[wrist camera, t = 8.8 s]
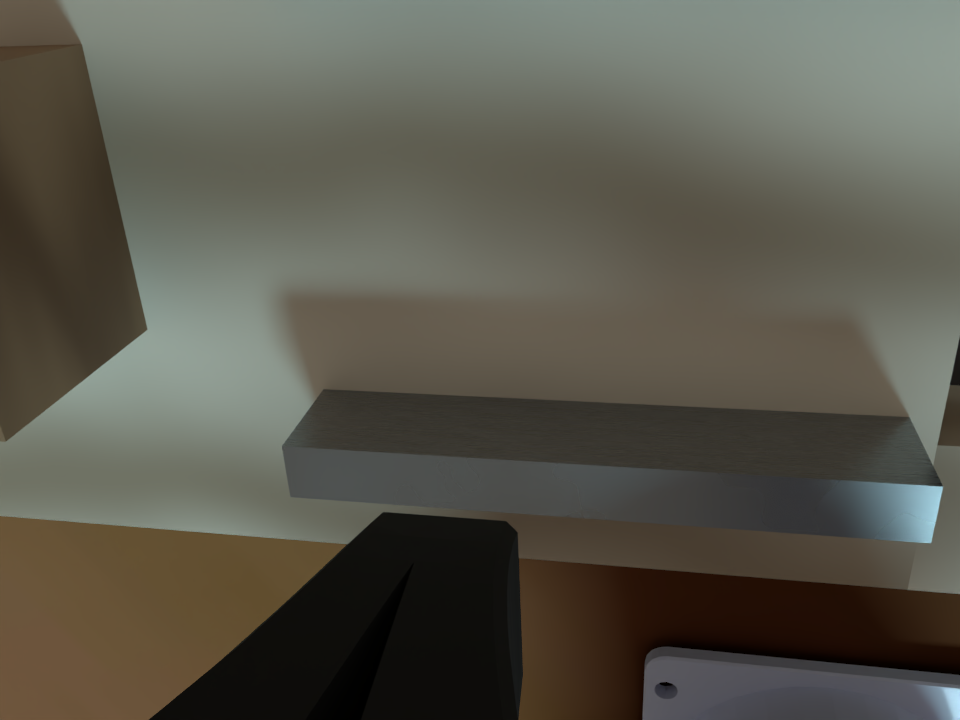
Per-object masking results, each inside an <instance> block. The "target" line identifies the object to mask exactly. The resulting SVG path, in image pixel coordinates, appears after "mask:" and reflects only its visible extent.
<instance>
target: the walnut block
mask: <svg viewBox="0 0 960 720" xmlns="http://www.w3.org/2000/svg"><path fill="white" fill-rule="evenodd" d="M146 330H148V329H147V325H146V320H145V316H144V312H143V307H142V303H141V299H140V294H139V290H138V286H137V281H136V277H135V273H134V268H133V264H132V260H131V255H130V251H129V247H128V242H127V238H126V234H125V229H124V225H123V221H122V216H121V212H120V208H119V203H118V199H117V195H116V190H115V186H114V181H113V177H112V173H111V168H110V164H109V160H108V155H107V151H106V147H105V142H104V138H103V134H102V129H101V125H100V121H99V116H98V112H97V108H96V103H95V99H94V95H93V90H92V86H91V82H90V77H89V73H88V69H87V64H86V60H85V55H84V51H83V47H82V44H70V45H38V46H5V47H0V441H1V442H6V441H7V440H9V439H10V438H11V437H12V436H14V435H15V434H16V433H18V432H19V431H20V430H21V429H23V428H24V427H25V426H26V425H28V424H29V423H30V422H31V421H33V420H34V419H35V418H36V417H38V416H39V415H40V414H42V413H43V412H44V411H45V410H47V409H48V408H49V407H50V406H52V405H53V404H54V403H55V402H57V401H58V400H59V399H60V398H62V397H63V396H64V395H66V394H67V393H68V392H69V391H71V390H72V389H73V388H74V387H76V386H77V385H78V384H79V383H81V382H82V381H83V380H85V379H86V378H87V377H88V376H90V375H91V374H92V373H93V372H95V371H96V370H97V369H98V368H100V367H101V366H102V365H103V364H105V363H106V362H107V361H109V360H110V359H111V358H112V357H114V356H115V355H116V354H117V353H119V352H120V351H121V350H122V349H124V348H125V347H126V346H127V345H129V344H130V343H131V342H133V341H134V340H135V339H136V338H138V337H139V336H140V335H141V334H143V333H144V332H145V331H146Z"/></svg>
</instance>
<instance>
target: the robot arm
mask: <svg viewBox="0 0 960 720" xmlns="http://www.w3.org/2000/svg"><path fill="white" fill-rule="evenodd" d="M522 677H523V665H522V637H521V609H520V581H519V552H518V532H517V531H516V530H515V529H514V528H513V527H512V526H511V525H510V524H509V523H508V522H507V521H500V520H486V519H472V518H459V517H445V516H432V515H418V514H405V513H391V512H383V513H381V514H380V515H379V516H378V517H377V518H376V519H375V520H374V521H372V522H371V523H370V524H369V525H368V526H367V527H366V528H365V529H364V530H362V531H361V532H360V533H359V534H358V535H357V536H356V537H355V538H354V539H353V540H352V541H351V542H349V543H348V544H347V545H346V546H345V547H344V548H343V549H342V550H341V551H340V552H339V553H338V554H337V555H336V556H335V557H334V558H333V559H331V560H330V561H329V562H328V563H327V564H326V565H325V566H324V567H323V568H322V569H321V570H320V571H319V572H318V573H317V574H316V575H315V576H313V577H312V578H311V579H310V580H309V581H308V582H307V583H306V584H305V585H304V586H303V587H302V588H301V589H300V590H298V591H297V592H296V593H295V594H294V595H293V596H292V597H291V598H290V599H289V600H288V601H287V602H286V603H285V604H283V605H282V606H281V607H280V608H279V609H278V610H277V611H276V612H274V613H273V614H272V615H271V616H270V617H269V618H268V619H267V620H266V621H264V622H263V623H262V624H261V625H260V626H259V627H258V628H257V629H255V630H254V631H253V632H252V633H251V634H250V635H249V636H248V637H247V638H245V639H244V640H243V641H242V642H241V643H240V644H239V645H238V646H237V647H235V648H234V649H233V650H232V651H231V652H230V653H229V654H228V655H226V656H225V657H224V658H223V659H222V660H221V661H219V662H218V663H217V664H216V665H215V666H214V667H212V668H211V669H210V670H209V671H208V672H206V673H205V674H204V675H203V676H202V677H200V678H199V679H198V680H197V681H196V682H194V683H193V684H192V685H191V686H189V687H188V688H187V689H186V690H185V691H183V692H182V693H181V694H180V695H178V696H177V697H176V698H175V699H174V700H172V701H171V702H170V703H169V704H167V705H166V706H165V707H164V708H163V709H161V710H160V711H159V712H158V713H156V714H155V715H154V716H153V717H152V718H150V719H149V720H518V717H519V706H520V696H521V687H522ZM661 682H668V683H672V684H673V685H672V686H663V685H660V684H659V683H661ZM642 720H960V675H954V674H943V673H933V672H923V671H913V670H902V669H892V668H882V667H871V666H861V665H851V664H841V663H830V662H820V661H810V660H800V659H789V658H779V657H769V656H758V655H748V654H738V653H728V652H717V651H707V650H697V649H686V648H676V647H658V648H656V649H653V650H651V651H650V652H649V653H648V654H647V656H646V659H645V670H644V693H643V715H642Z"/></svg>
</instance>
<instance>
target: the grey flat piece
mask: <svg viewBox="0 0 960 720" xmlns="http://www.w3.org/2000/svg"><path fill="white" fill-rule="evenodd" d="M70 44H82V47H83V51H84V55H85V60H86V64H87V69H88V73H89V77H90V82H91V86H92V90H93V95H94V99H95V103H96V108H97V112H98V116H99V121H100V125H101V129H102V134H103V138H104V142H105V147H106V151H107V155H108V160H109V164H110V168H111V173H112V177H113V181H114V186H115V190H116V195H117V199H118V203H119V208H120V212H121V216H122V221H123V225H124V229H125V234H126V238H127V242H128V247H129V251H130V255H131V260H132V264H133V268H134V273H135V277H136V281H137V286H138V290H139V294H140V299H141V303H142V307H143V312H144V316H145V320H146V325H147V329H148V330H146V331H145V332H144V333H143V334H141V335H140V336H139V337H138V338H136V339H135V340H134V341H133V342H131V343H130V344H129V345H127V346H126V347H125V348H124V349H122V350H121V351H120V352H119V353H117V354H116V355H115V356H114V357H112V358H111V359H110V360H109V361H107V362H106V363H105V364H103V365H102V366H101V367H100V368H98V369H97V370H96V371H95V372H93V373H92V374H91V375H90V376H88V377H87V378H86V379H85V380H83V381H82V382H81V383H79V384H78V385H77V386H76V387H74V388H73V389H72V390H71V391H69V392H68V393H67V394H66V395H64V396H63V397H62V398H60V399H59V400H58V401H57V402H55V403H54V404H53V405H52V406H50V407H49V408H48V409H47V410H45V411H44V412H43V413H42V414H40V415H39V416H38V417H36V418H35V419H34V420H33V421H31V422H30V423H29V424H28V425H26V426H25V427H24V428H23V429H21V430H20V431H19V432H18V433H16V434H15V435H14V436H12V437H11V438H10V439H9V440H7V441H6V442H1V441H0V516H9V517H22V518H34V519H46V520H58V521H71V522H83V523H95V524H107V525H120V526H132V527H144V528H156V529H169V530H181V531H193V532H206V533H218V534H230V535H242V536H255V537H267V538H279V539H291V540H304V541H316V542H328V543H340V544H348V543H349V542H351V541H352V540H353V539H354V538H355V537H356V536H357V535H358V534H359V533H360V532H361V531H362V530H364V529H365V528H366V527H367V526H368V525H369V524H370V523H371V522H372V521H374V520H375V519H376V518H377V517H378V516H379V515H380V514H381V513H383V512H391V513H405V514H418V515H432V516H445V517H459V518H472V519H486V520H500V521H507V522H508V523H509V524H510V525H511V526H512V527H513V528H514V529H515V530H516V531H517V532H518V552H519V558H524V559H537V560H549V561H561V562H574V563H586V564H598V565H610V566H623V567H635V568H647V569H659V570H672V571H684V572H696V573H708V574H721V575H733V576H745V577H757V578H770V579H782V580H794V581H807V582H819V583H831V584H843V585H856V586H868V587H880V588H892V589H905V590H917V591H929V592H941V593H954V594H960V0H0V47H5V46H38V45H70ZM323 389H330V390H351V391H372V392H393V393H414V394H435V395H456V396H477V397H498V398H519V399H540V400H561V401H582V402H603V403H624V404H645V405H666V406H687V407H708V408H729V409H750V410H771V411H792V412H813V413H834V414H855V415H876V416H897V417H910V419H911V421H912V423H913V425H914V427H915V429H916V432H917V434H918V436H919V438H920V440H921V442H922V444H923V446H924V448H925V450H926V452H927V454H928V456H929V458H930V460H931V462H932V464H933V466H934V469H935V471H936V473H937V475H938V477H939V479H940V481H941V483H942V485H943V490H942V495H941V499H940V504H939V509H938V513H937V518H936V523H935V527H934V532H933V537H932V541H931V543H918V542H904V541H890V540H876V539H862V538H849V537H835V536H821V535H807V534H793V533H779V532H765V531H751V530H738V529H724V528H710V527H696V526H682V525H668V524H654V523H641V522H627V521H613V520H599V519H585V518H571V517H557V516H543V515H530V514H516V513H502V512H488V511H474V510H460V509H446V508H433V507H419V506H405V505H391V504H377V503H363V502H349V501H335V500H322V499H308V498H294V497H290V492H289V486H288V480H287V474H286V468H285V462H284V456H283V451H282V445H283V444H284V443H285V441H286V440H287V438H288V437H289V436H290V434H291V433H292V432H293V430H294V429H295V427H296V426H297V425H298V423H299V422H300V421H301V419H302V418H303V417H304V415H305V414H306V412H307V411H308V410H309V408H310V407H311V406H312V404H313V403H314V401H315V400H316V399H317V397H318V396H319V395H320V393H321V392H322V391H323Z"/></svg>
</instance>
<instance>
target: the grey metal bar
mask: <svg viewBox="0 0 960 720" xmlns="http://www.w3.org/2000/svg"><path fill="white" fill-rule="evenodd" d="M282 451H283V456H284V462H285V468H286V474H287V480H288V486H289V492H290V497H294V498H308V499H322V500H335V501H349V502H363V503H377V504H391V505H405V506H419V507H433V508H446V509H460V510H474V511H488V512H502V513H516V514H530V515H543V516H557V517H571V518H585V519H599V520H613V521H627V522H641V523H654V524H668V525H682V526H696V527H710V528H724V529H738V530H751V531H765V532H779V533H793V534H807V535H821V536H835V537H849V538H862V539H876V540H890V541H904V542H918V543H931V541H932V537H933V532H934V527H935V523H936V518H937V513H938V509H939V504H940V499H941V495H942V490H943V485H942V483H941V481H940V479H939V477H938V475H937V473H936V471H935V469H934V466H933V464H932V462H931V460H930V458H929V456H928V454H927V452H926V450H925V448H924V446H923V444H922V442H921V440H920V438H919V436H918V434H917V432H916V429H915V427H914V425H913V423H912V421H911V419H910V417H897V416H876V415H855V414H834V413H813V412H792V411H771V410H750V409H729V408H708V407H687V406H666V405H645V404H624V403H603V402H582V401H561V400H540V399H519V398H498V397H477V396H456V395H435V394H414V393H393V392H372V391H351V390H330V389H323V391H322V392H321V393H320V395H319V396H318V397H317V399H316V400H315V401H314V403H313V404H312V406H311V407H310V408H309V410H308V411H307V412H306V414H305V415H304V417H303V418H302V419H301V421H300V422H299V423H298V425H297V426H296V427H295V429H294V430H293V432H292V433H291V434H290V436H289V437H288V438H287V440H286V441H285V443H284V444H283V445H282Z"/></svg>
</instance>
